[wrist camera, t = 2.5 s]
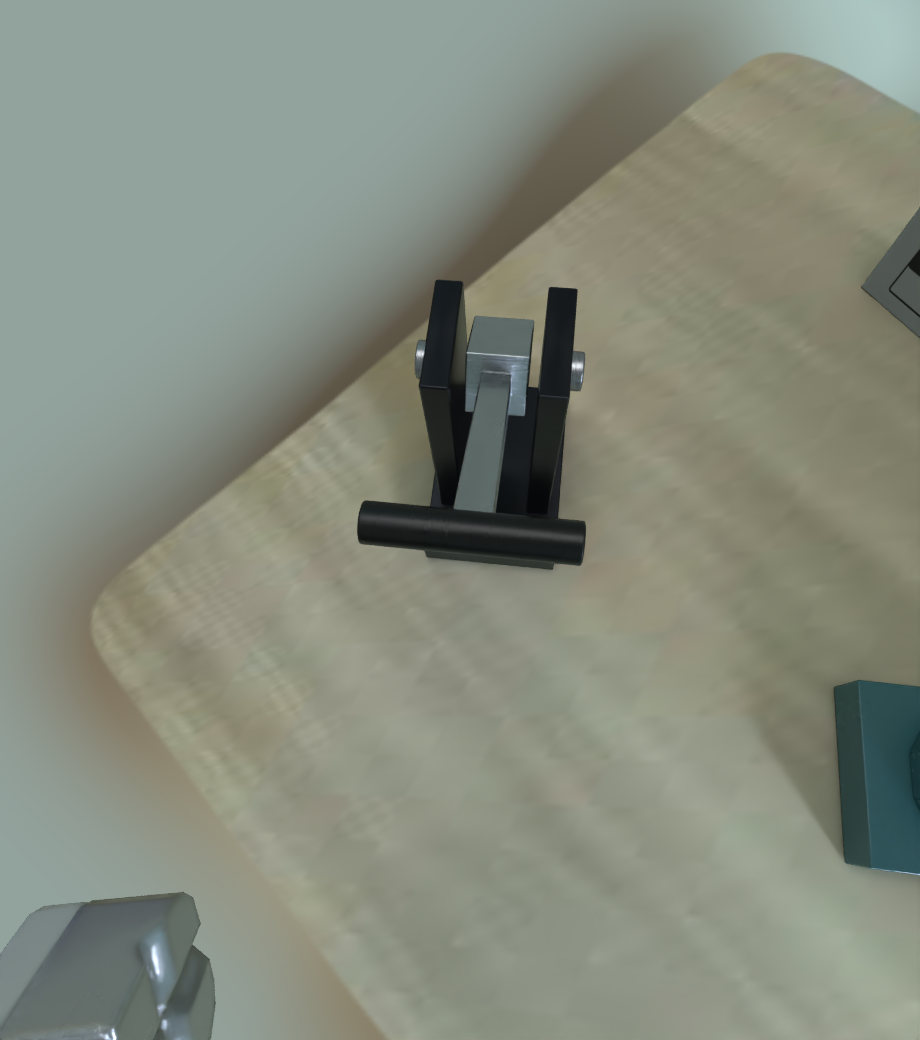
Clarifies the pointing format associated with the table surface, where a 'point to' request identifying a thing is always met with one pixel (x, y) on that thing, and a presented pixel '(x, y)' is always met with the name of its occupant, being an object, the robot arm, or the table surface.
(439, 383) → the bracket
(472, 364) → the lever
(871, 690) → the button block
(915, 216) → the cassette player
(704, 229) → the table surface
